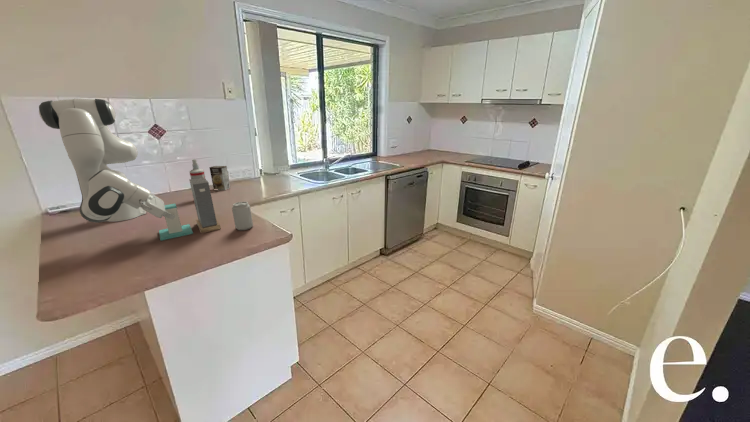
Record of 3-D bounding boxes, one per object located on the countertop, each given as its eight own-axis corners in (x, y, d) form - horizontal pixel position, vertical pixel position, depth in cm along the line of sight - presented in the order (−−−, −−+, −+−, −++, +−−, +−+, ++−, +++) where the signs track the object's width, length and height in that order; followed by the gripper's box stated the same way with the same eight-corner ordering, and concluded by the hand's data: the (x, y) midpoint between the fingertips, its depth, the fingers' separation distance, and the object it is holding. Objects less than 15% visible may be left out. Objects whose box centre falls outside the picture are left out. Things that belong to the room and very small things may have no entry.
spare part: (168, 230, 135) (161, 205, 131) (181, 227, 138) (175, 203, 134) (169, 233, 131) (162, 208, 127) (182, 231, 134) (176, 205, 130)
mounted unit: (196, 223, 145) (186, 179, 138) (214, 220, 150) (205, 176, 143) (201, 233, 134) (190, 185, 127) (220, 228, 138) (211, 182, 131)
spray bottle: (192, 200, 184) (183, 160, 177) (203, 197, 191) (195, 158, 183) (202, 201, 182) (192, 160, 174) (212, 198, 188) (204, 158, 180)
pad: (159, 232, 136) (158, 230, 136) (189, 226, 143) (189, 224, 142) (160, 240, 127) (160, 238, 127) (193, 233, 134) (192, 231, 133)
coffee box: (213, 190, 208) (208, 167, 203) (219, 188, 214) (215, 165, 209) (225, 190, 207) (220, 167, 202) (231, 188, 213) (226, 165, 208)
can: (236, 232, 134) (231, 206, 130) (235, 226, 140) (230, 202, 136) (254, 229, 137) (250, 203, 133) (252, 224, 143) (248, 199, 139)
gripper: (145, 196, 117) (180, 215, 125) (144, 187, 132) (176, 204, 141) (133, 210, 115) (170, 227, 124) (135, 198, 131) (167, 215, 140)
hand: (173, 215), depth 133 cm, fingers open, 8 cm apart
